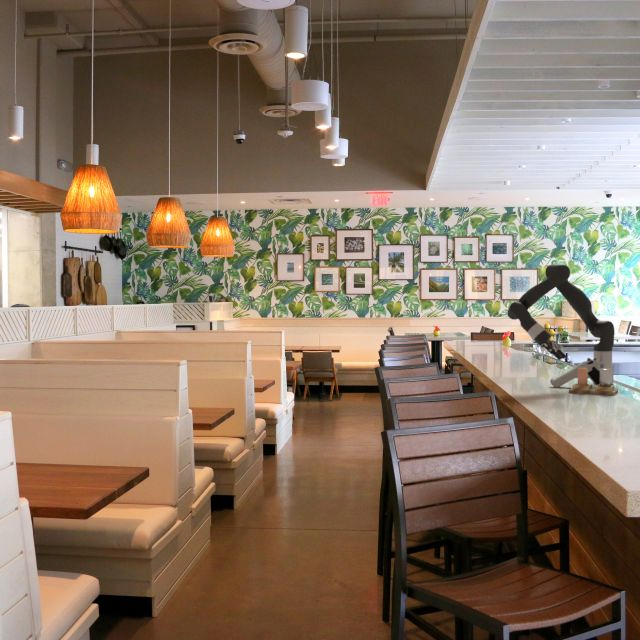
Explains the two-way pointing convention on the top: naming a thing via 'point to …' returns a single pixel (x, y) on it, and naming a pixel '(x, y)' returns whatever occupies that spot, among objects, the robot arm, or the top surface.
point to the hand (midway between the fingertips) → (562, 358)
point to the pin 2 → (604, 377)
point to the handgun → (573, 373)
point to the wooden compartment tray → (593, 390)
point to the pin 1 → (582, 376)
